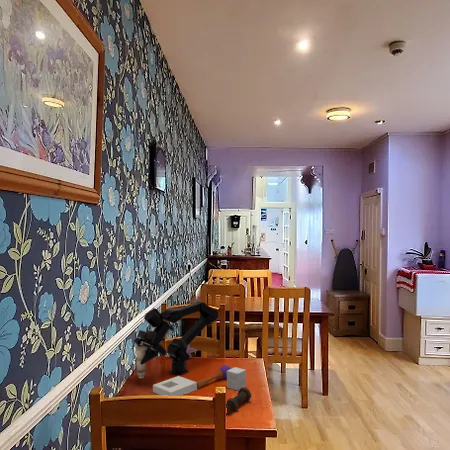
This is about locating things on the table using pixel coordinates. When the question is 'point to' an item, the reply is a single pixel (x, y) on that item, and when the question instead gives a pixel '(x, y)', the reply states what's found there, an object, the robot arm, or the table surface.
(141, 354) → the peg
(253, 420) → the table surface
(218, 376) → the kendama
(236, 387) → the product box
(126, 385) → the table surface
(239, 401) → the bolt
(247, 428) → the table surface
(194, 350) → the lily
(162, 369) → the table surface
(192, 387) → the board
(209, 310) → the robot arm
